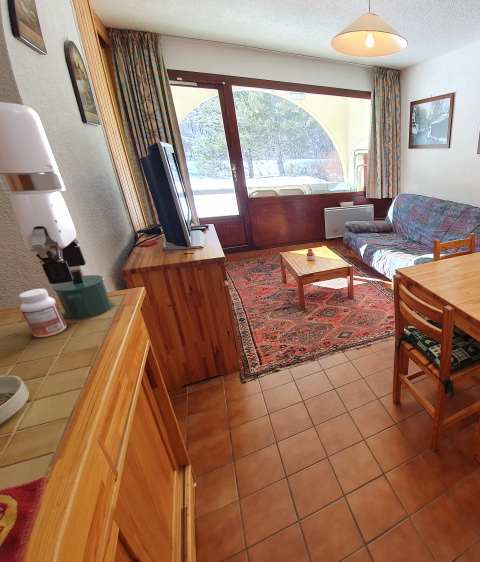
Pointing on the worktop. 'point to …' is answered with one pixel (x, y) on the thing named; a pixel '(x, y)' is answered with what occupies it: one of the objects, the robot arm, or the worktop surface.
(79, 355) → the worktop surface
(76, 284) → the pot lid
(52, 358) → the worktop surface
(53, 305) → the pill bottle
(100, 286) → the pot
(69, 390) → the worktop surface
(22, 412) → the worktop surface
